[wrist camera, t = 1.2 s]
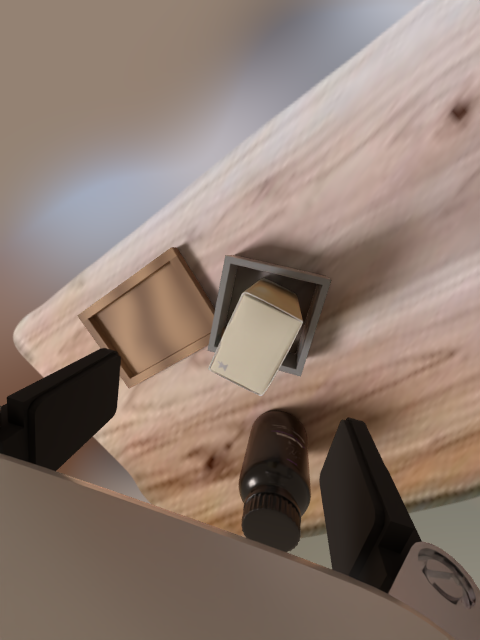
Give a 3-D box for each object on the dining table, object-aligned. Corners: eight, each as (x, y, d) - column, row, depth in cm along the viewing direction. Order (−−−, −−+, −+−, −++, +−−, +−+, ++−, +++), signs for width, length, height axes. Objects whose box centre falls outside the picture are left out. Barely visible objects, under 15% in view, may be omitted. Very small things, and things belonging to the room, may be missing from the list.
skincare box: (272, 342, 29) (261, 402, 17) (238, 325, 29) (204, 373, 18) (299, 291, 27) (307, 321, 15) (262, 273, 27) (242, 290, 16)
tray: (176, 247, 28) (171, 247, 27) (229, 331, 30) (226, 334, 28) (86, 313, 33) (77, 315, 31) (135, 383, 34) (129, 388, 33)
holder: (325, 275, 26) (331, 280, 22) (299, 359, 29) (300, 376, 25) (234, 254, 27) (225, 255, 23) (217, 337, 30) (207, 350, 26)
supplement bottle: (302, 406, 30) (310, 500, 19) (309, 454, 32) (320, 568, 20) (246, 409, 32) (222, 498, 20) (256, 455, 33) (238, 561, 22)
